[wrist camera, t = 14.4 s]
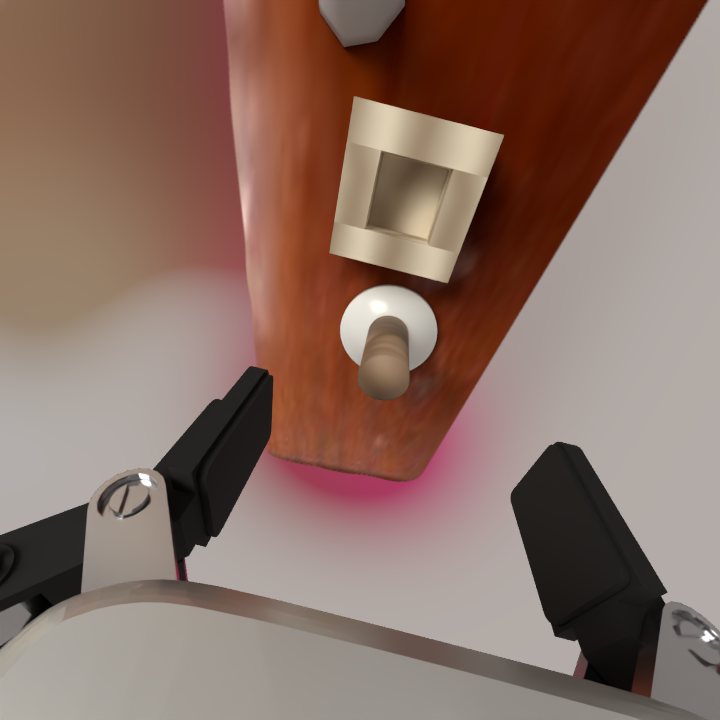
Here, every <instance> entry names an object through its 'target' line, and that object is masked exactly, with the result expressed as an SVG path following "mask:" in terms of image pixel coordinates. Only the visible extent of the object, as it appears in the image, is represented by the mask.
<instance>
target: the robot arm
mask: <svg viewBox="0 0 720 720" xmlns="http://www.w3.org/2000/svg"><path fill="white" fill-rule="evenodd" d="M272 399H273V376H271V375H269V372H268V370H265V369H261V368H257V367H253V366H251V367H249V368H248V369H247V370H246V371H245V373H244V374H243V375H242V376H241V377H240V379H239V380H238V381H237V382H236V384H235V385H234V386H233V387H232V388H231V390H230V391H229V392H228V393H227V395H226V396H225V397H224V398H223V399H222V400H220V399H215V400H213V401H212V402H211V403H210V404H209V405H208V406H207V407H206V408H205V410H204V411H203V412H202V413H201V414H200V415H199V416H198V418H197V419H196V420H195V421H194V422H193V424H192V425H191V426H190V427H189V428H188V429H187V430H186V432H185V433H184V434H183V435H182V436H181V437H180V439H179V440H178V441H177V442H176V443H175V444H174V446H173V447H172V448H171V449H170V450H169V451H168V453H167V454H166V455H165V456H164V457H163V458H162V460H161V461H160V462H159V463H158V464H157V465H156V467H155V468H154V469H153V470H151V469H141V468H138V469H133V470H128V471H125V472H123V473H120V474H117V475H115V476H114V477H113V478H111V479H109V480H108V481H106V482H105V483H104V484H102V485H101V486H100V487H99V488H98V489H97V490H96V492H95V493H94V494H93V496H92V497H91V499H90V502H89V503H87V504H84V505H81V506H78V507H76V508H73V509H70V510H67V511H65V512H62V513H60V514H57V515H54V516H51V517H48V518H46V519H43V520H40V521H38V522H35V523H32V524H29V525H27V526H24V527H21V528H19V529H16V530H13V531H10V532H8V533H5V534H2V535H0V720H720V632H719V631H718V629H717V628H715V626H714V625H713V624H711V623H710V622H709V621H708V620H707V619H706V618H704V617H703V616H702V615H701V614H699V613H698V612H696V611H695V610H693V609H692V608H690V607H688V606H686V605H684V604H682V603H678V602H669V603H667V604H665V602H664V601H663V599H662V597H661V596H662V595H664V594H666V593H667V591H666V589H665V587H664V586H663V584H662V582H661V581H660V579H659V577H658V576H657V574H656V572H655V571H654V569H653V567H652V566H651V564H650V562H649V561H648V559H647V557H646V556H645V554H644V552H643V551H642V549H641V548H640V546H639V544H638V542H637V541H636V539H635V537H634V536H633V535H632V533H631V531H630V529H629V528H628V526H627V524H626V523H625V521H624V519H623V518H622V516H621V515H620V513H619V511H618V510H617V508H616V506H615V504H614V503H613V501H612V499H611V498H610V496H609V494H608V493H607V491H606V489H605V488H604V486H603V484H602V483H601V481H600V479H599V478H598V476H597V474H596V473H595V471H594V470H593V468H592V466H591V465H590V463H589V461H588V460H587V458H586V456H585V455H584V453H583V451H582V450H581V449H580V448H579V447H578V446H575V445H570V444H567V443H563V442H556V443H555V444H553V445H550V446H548V448H547V449H546V450H545V451H544V452H543V454H542V455H541V456H540V457H539V459H538V460H537V461H536V462H535V463H534V465H533V466H532V467H531V468H530V470H529V471H528V472H527V473H526V475H525V476H524V477H523V478H522V480H521V481H520V482H519V483H518V484H517V486H516V487H515V488H514V489H513V491H512V493H511V504H512V506H513V510H514V514H515V517H516V520H517V524H518V527H519V530H520V534H521V537H522V541H523V544H524V547H525V550H526V554H527V557H528V561H529V564H530V568H531V571H532V574H533V577H534V581H535V584H536V588H537V591H538V594H539V598H540V601H541V605H542V608H543V611H544V614H545V617H546V618H547V620H548V621H549V622H550V623H551V625H552V628H553V632H554V635H555V636H556V637H559V638H564V639H567V640H571V641H576V640H577V639H578V642H579V645H580V647H581V652H580V655H579V659H578V661H577V665H576V668H575V671H574V674H573V676H570V675H567V674H562V673H559V672H555V671H551V670H548V669H544V668H540V667H536V666H532V665H529V664H525V663H521V662H517V661H513V660H510V659H506V658H502V657H498V656H494V655H491V654H487V653H482V652H479V651H475V650H471V649H467V648H464V647H460V646H456V645H452V644H448V643H444V642H440V641H436V640H433V639H429V638H425V637H421V636H417V635H413V634H409V633H405V632H402V631H398V630H394V629H390V628H385V627H382V626H378V625H374V624H370V623H366V622H362V621H358V620H355V619H350V618H346V617H342V616H338V615H334V614H331V613H327V612H323V611H319V610H314V609H311V608H307V607H303V606H299V605H295V604H291V603H287V602H283V601H279V600H275V599H270V598H266V597H262V596H258V595H253V594H249V593H244V592H240V591H236V590H232V589H227V588H223V587H219V586H213V585H207V584H201V583H195V582H189V581H188V578H187V570H186V564H185V557H187V556H189V555H190V553H191V551H192V550H193V548H194V546H195V544H196V545H200V546H204V547H206V546H207V544H208V542H209V540H210V538H211V536H213V537H217V536H218V535H219V533H220V532H221V530H222V528H223V526H224V524H225V522H226V521H227V519H228V517H229V515H230V513H231V511H232V509H233V507H234V505H235V503H236V501H237V500H238V497H239V496H240V494H241V492H242V490H243V488H244V486H245V484H246V482H247V481H248V479H249V477H250V475H251V473H252V471H253V469H254V467H255V465H256V463H257V462H258V460H259V458H260V456H261V454H262V452H263V450H264V448H265V446H266V444H267V442H268V440H269V438H270V435H271V424H272Z"/></svg>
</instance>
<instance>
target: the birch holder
mask: <svg viewBox="0 0 720 720" xmlns="http://www.w3.org/2000/svg"><path fill="white" fill-rule="evenodd" d="M503 137H504V135H501V134H497V133H493V132H490V131H486V130H482V129H478V128H474V127H470V126H466V125H463V124H459V123H455V122H451V121H447V120H443V119H439V118H436V117H432V116H428V115H424V114H420V113H416V112H413V111H409V110H405V109H401V108H397V107H393V106H389V105H386V104H382V103H378V102H374V101H370V100H366V99H362V98H359V97H355V96H354V101H353V107H352V114H351V120H350V126H349V133H348V139H347V145H346V151H345V158H344V164H343V170H342V177H341V183H340V189H339V196H338V202H337V208H336V215H335V221H334V227H333V234H332V240H331V246H330V253H331V254H335V255H339V256H343V257H347V258H351V259H355V260H359V261H363V262H367V263H370V264H374V265H378V266H382V267H386V268H390V269H394V270H398V271H402V272H406V273H409V274H413V275H417V276H421V277H425V278H429V279H433V280H437V281H441V282H445V283H448V281H449V278H450V276H451V273H452V271H453V268H454V265H455V263H456V260H457V257H458V255H459V252H460V250H461V247H462V244H463V242H464V239H465V236H466V234H467V231H468V229H469V226H470V223H471V221H472V218H473V215H474V213H475V210H476V208H477V205H478V202H479V200H480V197H481V195H482V192H483V189H484V187H485V184H486V181H487V179H488V176H489V174H490V171H491V168H492V166H493V163H494V160H495V158H496V155H497V153H498V150H499V147H500V145H501V142H502V139H503Z"/></svg>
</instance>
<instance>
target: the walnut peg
mask: <svg viewBox="0 0 720 720" xmlns="http://www.w3.org/2000/svg"><path fill="white" fill-rule="evenodd" d="M409 381H410V380H409V335H408V328H407V326H406V324H405V323H404V322H403V321H402V320H401V319H399V318H397V317H394V316H382V317H379V318H377V319H376V320H374V321H373V322H372V324H371V325H370V327H369V330H368V334H367V338H366V343H365V347H364V351H363V355H362V359H361V363H360V367H359V372H358V384H359V386H360V388H361V390H362V391H363V392H364V393H365V394H366V395H368V396H370V397H371V398H374V399H377V400H392V399H395V398H398V397H399V396H401V395H402V394H403V393H404V392H405V391H406V390H407V388H408V386H409Z"/></svg>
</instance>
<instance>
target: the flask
mask: <svg viewBox="0 0 720 720" xmlns="http://www.w3.org/2000/svg"><path fill="white" fill-rule="evenodd" d="M404 6H405V0H319V9H320V13H321V15H322V16H323V18H324V19H325V20H326V22H327V23H328V25H329V26H330V28H331V29H332V31H333V32H334V34H335V35H336V37H337V38H338V39H339V41H340V42H341V44H342V45H343V47H348V46H353V45H359V44H364V43H370V42H375V41H378V40H379V39H380V37H381V36H382V35H383V33H384V32H385V31H386V30H387V28H388V27H389V26H390V24H391V23H392V22H393V21H394V19H395V18H396V17H397V15H398V14H399V13H400V12H401V10H402V9H403V8H404Z"/></svg>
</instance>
